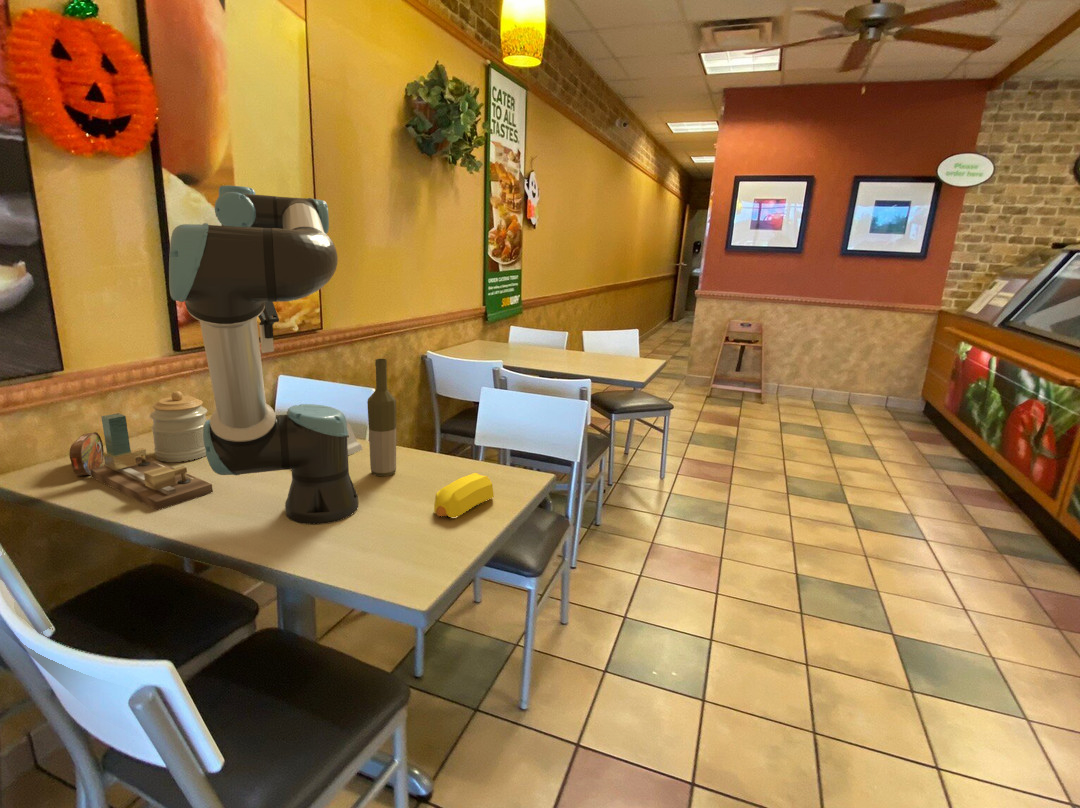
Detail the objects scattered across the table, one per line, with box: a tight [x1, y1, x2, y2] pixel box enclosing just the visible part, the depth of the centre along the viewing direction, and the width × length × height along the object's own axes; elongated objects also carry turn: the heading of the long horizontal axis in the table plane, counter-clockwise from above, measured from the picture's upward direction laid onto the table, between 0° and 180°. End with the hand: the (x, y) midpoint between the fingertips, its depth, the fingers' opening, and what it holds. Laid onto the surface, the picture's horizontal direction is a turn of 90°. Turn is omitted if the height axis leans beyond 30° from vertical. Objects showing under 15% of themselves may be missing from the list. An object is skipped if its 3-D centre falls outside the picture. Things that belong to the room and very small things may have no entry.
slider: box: [101, 412, 147, 470], centre depth 138 cm, size 5×8×13 cm, turn 149°
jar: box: [149, 390, 208, 463], centre depth 153 cm, size 13×13×18 cm
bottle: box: [366, 358, 397, 477], centre depth 145 cm, size 7×7×30 cm
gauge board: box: [90, 455, 214, 511], centre depth 135 cm, size 30×12×6 cm, turn 59°
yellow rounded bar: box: [433, 472, 494, 518], centre depth 132 cm, size 18×7×8 cm
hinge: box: [346, 422, 363, 456], centre depth 159 cm, size 17×5×10 cm, turn 157°
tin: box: [69, 431, 105, 477], centre depth 142 cm, size 15×3×8 cm, turn 22°
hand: (250, 348), depth 138 cm, fingers open, 13 cm apart
